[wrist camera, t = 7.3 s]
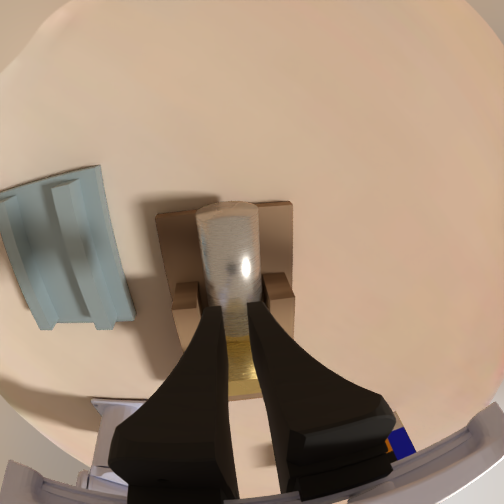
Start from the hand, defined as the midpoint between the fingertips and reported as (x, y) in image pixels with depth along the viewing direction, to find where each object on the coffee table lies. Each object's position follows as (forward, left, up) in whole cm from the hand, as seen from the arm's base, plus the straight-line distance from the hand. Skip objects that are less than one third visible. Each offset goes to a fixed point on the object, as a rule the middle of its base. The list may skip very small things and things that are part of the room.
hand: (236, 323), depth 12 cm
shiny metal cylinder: (-1, 0, -9) cm, 9 cm away
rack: (0, +13, -9) cm, 16 cm away
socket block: (-8, 0, -9) cm, 12 cm away
